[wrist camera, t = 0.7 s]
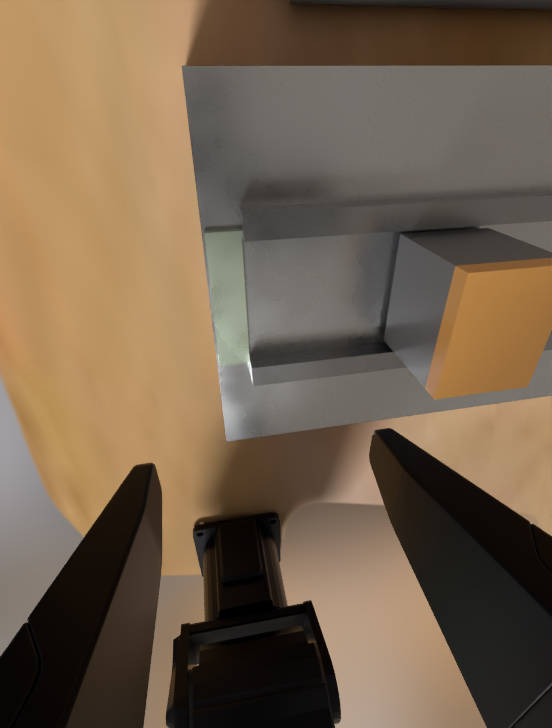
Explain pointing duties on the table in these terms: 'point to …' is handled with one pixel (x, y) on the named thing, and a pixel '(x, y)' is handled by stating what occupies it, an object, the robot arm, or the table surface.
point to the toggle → (469, 310)
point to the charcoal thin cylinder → (439, 3)
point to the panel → (351, 221)
